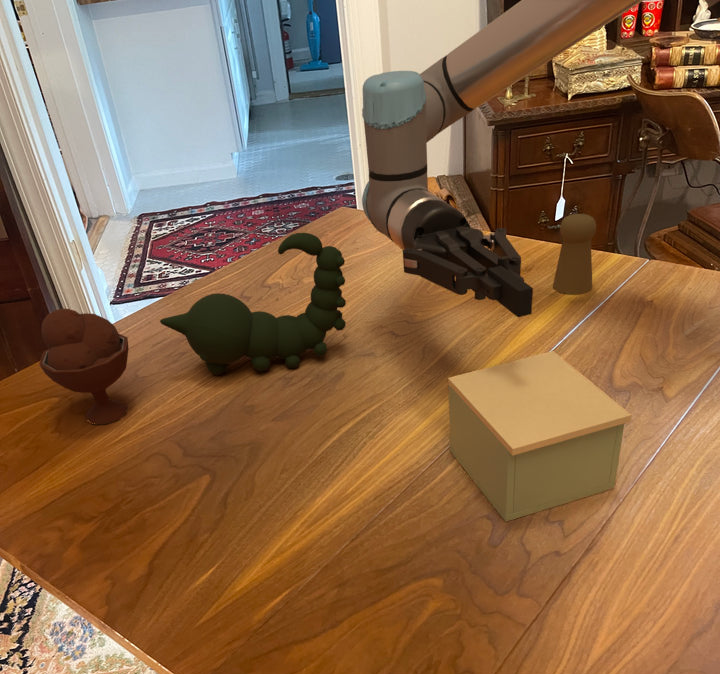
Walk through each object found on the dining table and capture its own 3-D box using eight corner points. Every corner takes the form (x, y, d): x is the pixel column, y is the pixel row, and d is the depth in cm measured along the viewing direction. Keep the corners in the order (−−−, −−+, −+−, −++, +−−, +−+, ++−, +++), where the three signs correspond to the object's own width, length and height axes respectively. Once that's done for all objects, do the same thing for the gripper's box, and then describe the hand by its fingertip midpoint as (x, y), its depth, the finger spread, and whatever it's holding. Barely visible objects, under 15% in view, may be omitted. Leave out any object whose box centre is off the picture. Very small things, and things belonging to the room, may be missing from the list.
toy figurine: (339, 346, 110) (170, 360, 107) (337, 219, 99) (147, 230, 96) (350, 376, 103) (168, 392, 100) (348, 242, 92) (143, 255, 88)
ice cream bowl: (94, 446, 92) (52, 338, 83) (50, 418, 98) (7, 315, 89) (163, 408, 97) (131, 303, 88) (118, 384, 104) (83, 284, 95)
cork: (567, 275, 119) (573, 207, 112) (600, 284, 115) (608, 214, 109) (544, 288, 116) (549, 218, 109) (577, 297, 112) (584, 226, 106)
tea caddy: (614, 488, 76) (625, 417, 71) (505, 522, 74) (508, 451, 68) (547, 423, 87) (552, 357, 81) (449, 450, 84) (448, 384, 79)
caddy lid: (630, 421, 70) (631, 414, 70) (512, 455, 68) (512, 448, 67) (552, 356, 81) (552, 350, 81) (448, 384, 79) (447, 377, 78)
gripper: (478, 250, 92) (581, 323, 74) (381, 272, 90) (464, 353, 72) (478, 188, 88) (588, 250, 70) (376, 210, 85) (463, 280, 67)
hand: (525, 302), depth 71 cm, fingers closed
